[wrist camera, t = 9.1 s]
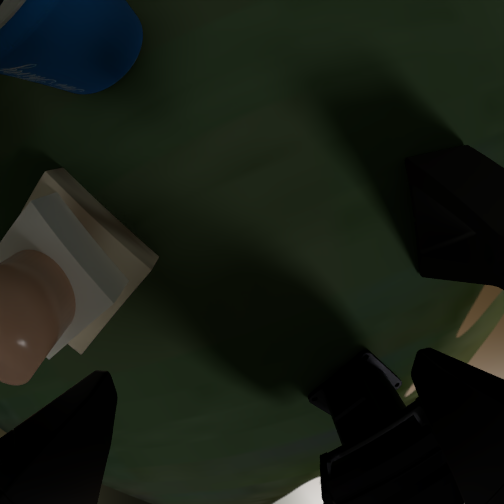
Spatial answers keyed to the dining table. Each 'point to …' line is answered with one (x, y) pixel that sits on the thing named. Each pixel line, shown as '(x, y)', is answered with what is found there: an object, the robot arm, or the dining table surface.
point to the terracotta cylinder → (31, 312)
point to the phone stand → (458, 215)
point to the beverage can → (69, 42)
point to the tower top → (67, 258)
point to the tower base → (99, 242)
